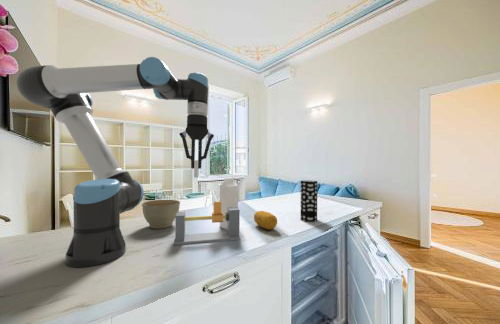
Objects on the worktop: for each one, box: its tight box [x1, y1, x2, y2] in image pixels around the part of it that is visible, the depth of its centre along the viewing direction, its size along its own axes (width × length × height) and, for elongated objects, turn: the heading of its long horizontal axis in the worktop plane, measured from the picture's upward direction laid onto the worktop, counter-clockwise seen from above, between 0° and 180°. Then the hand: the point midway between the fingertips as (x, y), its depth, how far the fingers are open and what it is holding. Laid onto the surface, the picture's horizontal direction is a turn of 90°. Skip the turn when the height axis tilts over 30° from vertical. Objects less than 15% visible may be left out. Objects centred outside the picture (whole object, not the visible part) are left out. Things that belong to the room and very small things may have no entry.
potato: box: [253, 210, 278, 231], centre depth 96 cm, size 7×14×7 cm, turn 26°
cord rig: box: [173, 206, 241, 246], centre depth 82 cm, size 24×8×11 cm, turn 104°
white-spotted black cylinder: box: [300, 180, 318, 223], centre depth 110 cm, size 8×8×20 cm
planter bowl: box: [141, 199, 181, 229], centre depth 97 cm, size 16×16×11 cm
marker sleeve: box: [211, 200, 223, 223], centre depth 83 cm, size 4×3×8 cm
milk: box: [219, 177, 239, 230], centre depth 97 cm, size 6×6×22 cm
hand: (196, 177), depth 81 cm, fingers closed
